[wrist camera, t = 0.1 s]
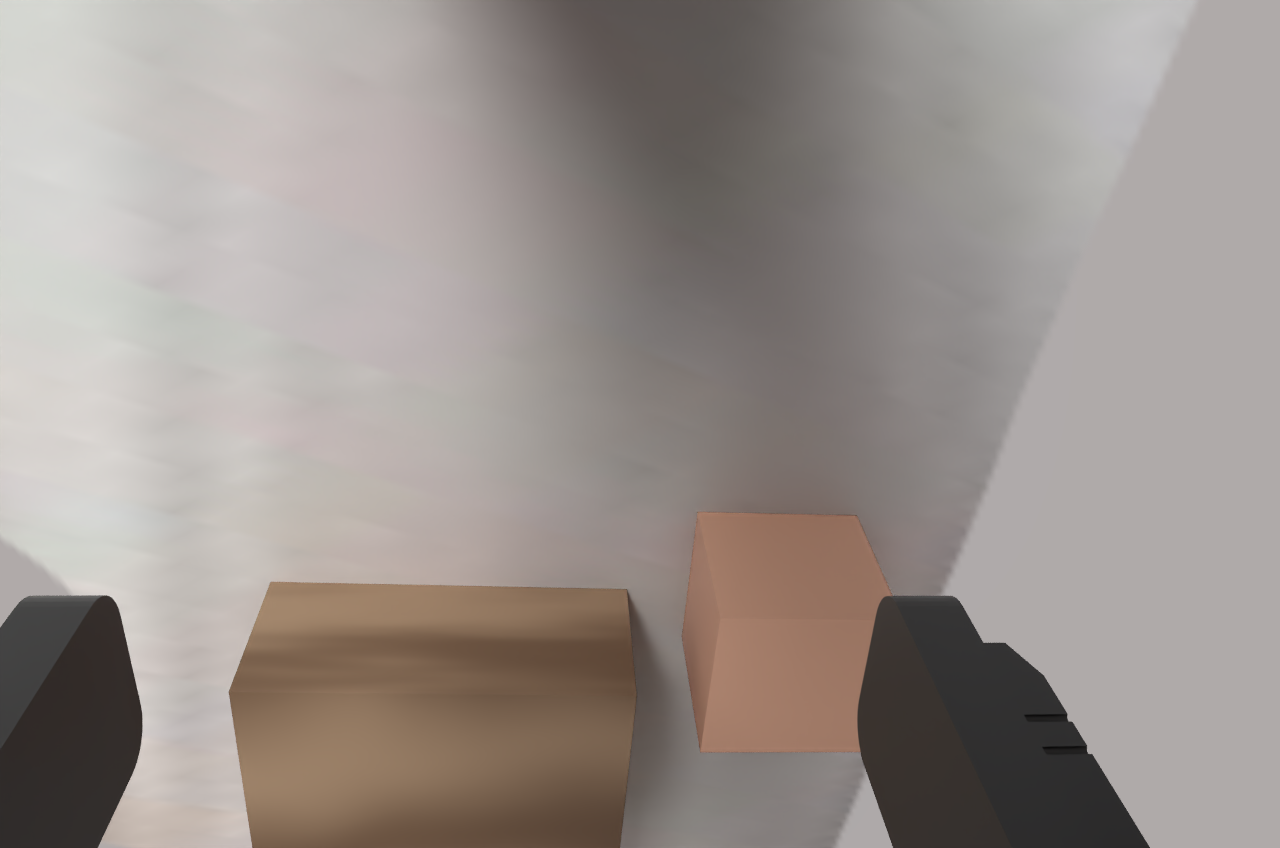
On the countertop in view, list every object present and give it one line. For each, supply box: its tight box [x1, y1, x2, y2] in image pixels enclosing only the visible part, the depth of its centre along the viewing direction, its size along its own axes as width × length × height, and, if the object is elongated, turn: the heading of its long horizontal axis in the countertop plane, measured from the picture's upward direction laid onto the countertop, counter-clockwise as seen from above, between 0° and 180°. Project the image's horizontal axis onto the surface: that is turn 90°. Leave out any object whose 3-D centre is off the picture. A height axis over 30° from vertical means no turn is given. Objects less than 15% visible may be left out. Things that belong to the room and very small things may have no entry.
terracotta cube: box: [682, 512, 892, 752], centre depth 31 cm, size 5×5×5 cm
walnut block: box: [229, 582, 637, 848], centre depth 33 cm, size 11×11×5 cm
